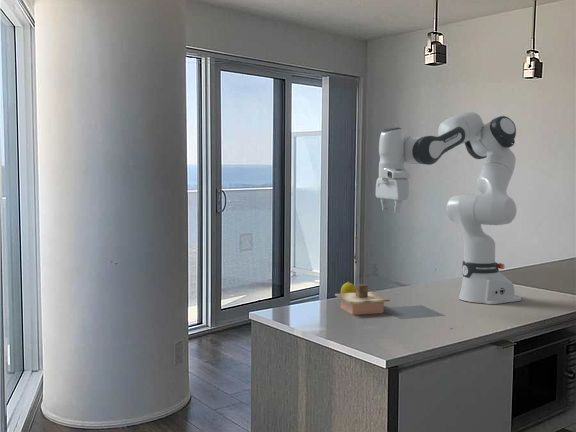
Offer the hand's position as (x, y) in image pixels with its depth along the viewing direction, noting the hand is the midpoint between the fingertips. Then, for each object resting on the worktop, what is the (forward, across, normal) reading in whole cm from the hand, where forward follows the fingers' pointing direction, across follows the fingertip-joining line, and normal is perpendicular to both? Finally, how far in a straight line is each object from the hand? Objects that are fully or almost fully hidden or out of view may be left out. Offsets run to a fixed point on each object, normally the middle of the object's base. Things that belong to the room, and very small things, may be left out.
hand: (390, 211), depth 225 cm
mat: (+33, +19, -1) cm, 38 cm away
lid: (+28, +12, -16) cm, 34 cm away
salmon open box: (+33, +12, -16) cm, 39 cm away
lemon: (+33, -3, -15) cm, 37 cm away
